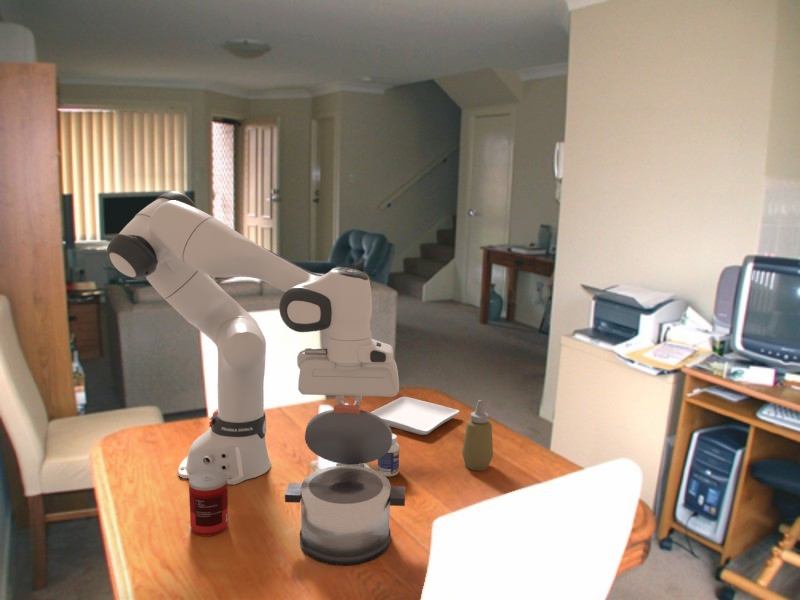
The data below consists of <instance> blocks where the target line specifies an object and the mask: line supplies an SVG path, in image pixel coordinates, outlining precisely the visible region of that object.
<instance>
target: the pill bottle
mask: <svg viewBox="0 0 800 600" xmlns="http://www.w3.org/2000/svg"><path fill="white" fill-rule="evenodd" d="M399 466H400V445H399V444H398V436H397V435H396V434H395V433H392V445H391V448H390V450H389V451H388V452H387V453H386V454H385V455H384V456H383V457H381V458H379V459H377V472H379V473H381V474H383V475H384V476H385V477H393V476H397V475H398V473H399V470H400V469H399V468H400V467H399Z"/></svg>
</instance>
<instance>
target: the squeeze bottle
mask: <svg viewBox="0 0 800 600" xmlns="http://www.w3.org/2000/svg"><path fill="white" fill-rule="evenodd" d="M489 416H490V415H489V413H487V412H486V411H485V405H484V400H483V399H478V401H477V403H476V407H475V410H474V411H472V412H470V419H469V420H467V422H466V425H465V426H466V427H465V432H464V437H463V438H464V439H463V445H462V451H461V454H462V458H463V461H464V462H463V463H464V464H465V467H466V468H467V469H468V470H472V471H479V472H481V471H485V470H487V469H488V468H489V467H490V464H491V462H492V459H493V457H494V447H493V443H494V442H493V427H492V426H493V425H492V423H491V422H490V420H489Z"/></svg>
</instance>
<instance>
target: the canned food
mask: <svg viewBox="0 0 800 600" xmlns="http://www.w3.org/2000/svg"><path fill="white" fill-rule="evenodd" d="M228 490H229V489H228V484H227V476H226V475H225V474H224V473H222V472H219V471H203V472H199V473H197V474H195V475H193V476H192V477H191V478H190V479H188V492H189V493H188V495H189V516H190V517H189V518H190V519H189V521H190V529H191V530H192V533H194V534H195V533H196V535H197V536H200V535H201V537H211V535H213V536H216V535H219V534H221V533H222V532H223V531H225V530H226V528H228V524H229V506H228V505H229V502H228V500H229V499H228V494H229V493H228ZM220 532H221V533H220ZM218 533H219V534H218ZM209 535H210V536H209Z"/></svg>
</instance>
